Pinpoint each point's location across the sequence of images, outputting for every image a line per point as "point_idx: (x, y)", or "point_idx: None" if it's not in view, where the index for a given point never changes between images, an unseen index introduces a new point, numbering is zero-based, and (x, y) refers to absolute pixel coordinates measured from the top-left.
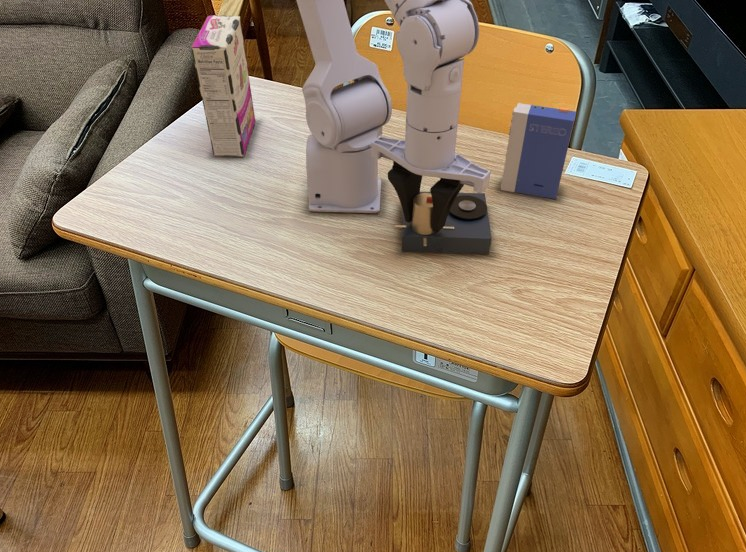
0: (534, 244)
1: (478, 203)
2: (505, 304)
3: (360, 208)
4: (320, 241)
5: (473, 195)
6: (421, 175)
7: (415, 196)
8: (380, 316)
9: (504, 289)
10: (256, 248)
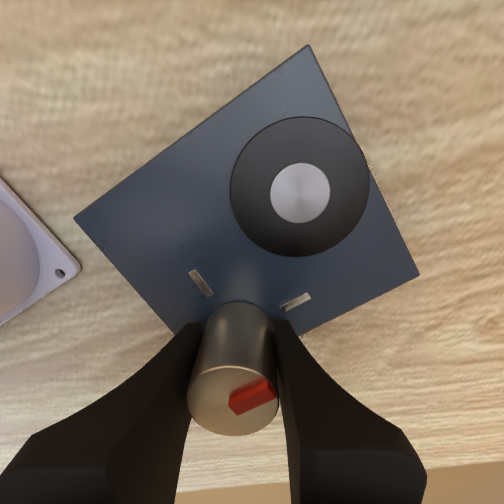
0: (501, 144)
1: (326, 150)
2: (472, 365)
3: (40, 289)
4: (74, 395)
5: (278, 92)
6: (151, 416)
7: (188, 406)
8: (286, 471)
9: (460, 333)
10: (15, 453)
